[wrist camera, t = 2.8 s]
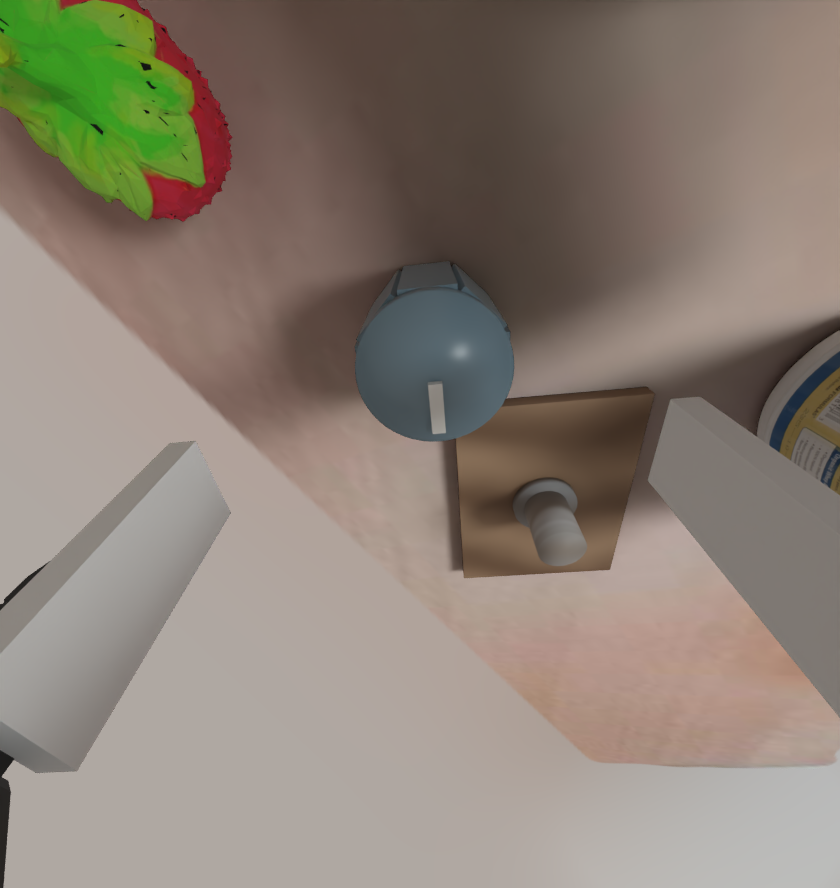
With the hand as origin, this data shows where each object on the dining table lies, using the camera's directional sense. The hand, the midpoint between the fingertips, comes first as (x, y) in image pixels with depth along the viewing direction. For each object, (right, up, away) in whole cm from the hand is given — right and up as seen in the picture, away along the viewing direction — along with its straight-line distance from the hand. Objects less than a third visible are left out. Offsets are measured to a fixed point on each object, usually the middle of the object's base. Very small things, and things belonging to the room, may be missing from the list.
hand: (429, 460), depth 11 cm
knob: (0, +7, +11) cm, 13 cm away
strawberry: (-11, +15, +6) cm, 19 cm away
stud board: (+9, -3, +17) cm, 20 cm away
